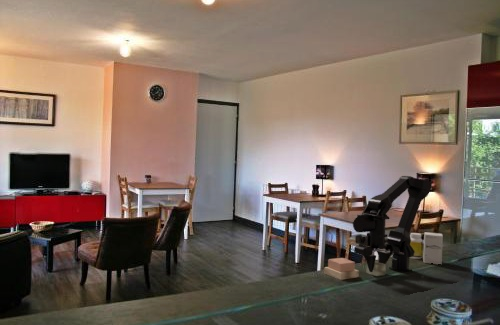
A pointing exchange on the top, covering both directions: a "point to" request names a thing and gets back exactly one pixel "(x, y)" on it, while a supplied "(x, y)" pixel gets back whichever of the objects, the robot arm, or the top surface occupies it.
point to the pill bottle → (416, 245)
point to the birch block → (341, 273)
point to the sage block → (377, 269)
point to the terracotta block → (341, 264)
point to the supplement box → (433, 248)
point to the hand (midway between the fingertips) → (375, 271)
